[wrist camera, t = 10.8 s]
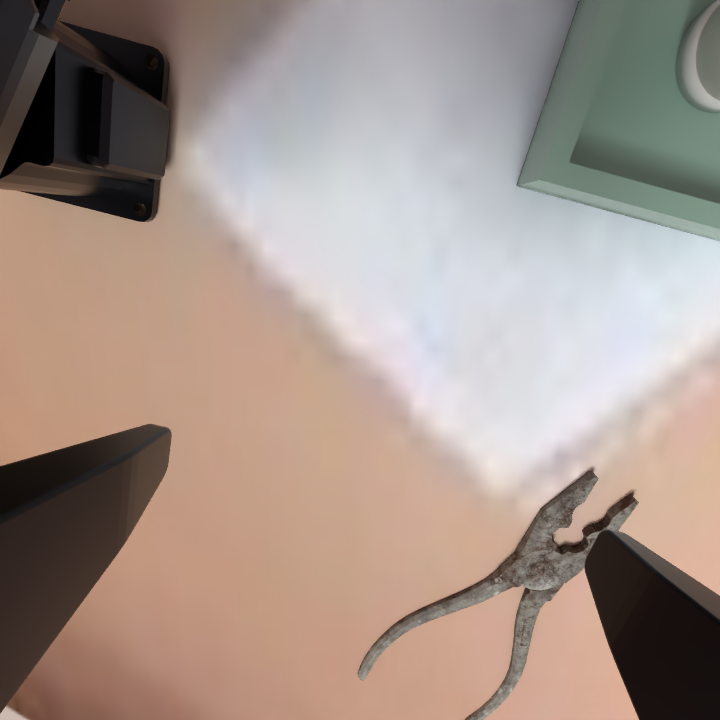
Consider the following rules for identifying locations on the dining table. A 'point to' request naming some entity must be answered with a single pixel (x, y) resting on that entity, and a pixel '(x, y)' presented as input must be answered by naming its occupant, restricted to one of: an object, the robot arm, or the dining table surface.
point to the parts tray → (628, 120)
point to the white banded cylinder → (701, 61)
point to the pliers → (522, 580)
